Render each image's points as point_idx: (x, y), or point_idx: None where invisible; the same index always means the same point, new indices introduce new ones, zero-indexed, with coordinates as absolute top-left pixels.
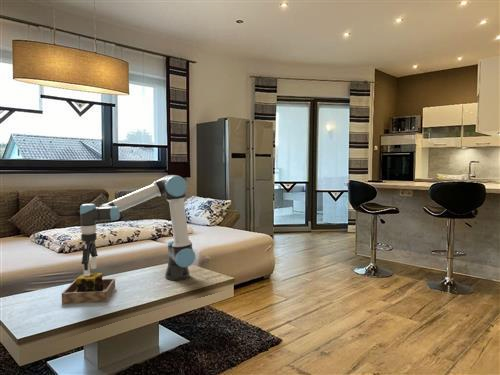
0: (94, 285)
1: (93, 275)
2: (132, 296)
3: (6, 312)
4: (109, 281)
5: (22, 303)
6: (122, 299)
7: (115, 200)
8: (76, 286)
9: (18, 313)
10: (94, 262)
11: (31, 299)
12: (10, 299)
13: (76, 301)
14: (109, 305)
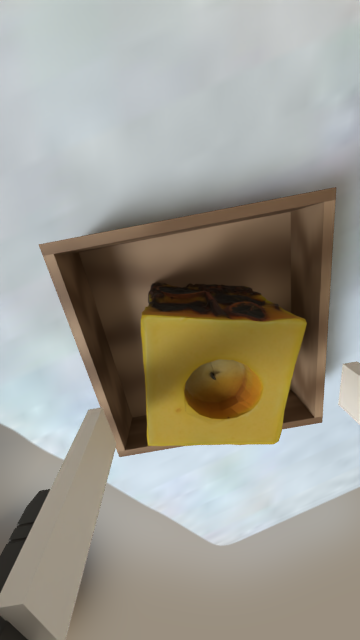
0: (273, 303)
1: (195, 368)
2: (207, 49)
3: (340, 492)
4: (70, 279)
5: (271, 493)
6: (259, 111)
7: None
8: (130, 423)
9: (355, 463)
10: (81, 486)
11: (237, 490)
12: (235, 532)
13: None
14: (346, 162)
